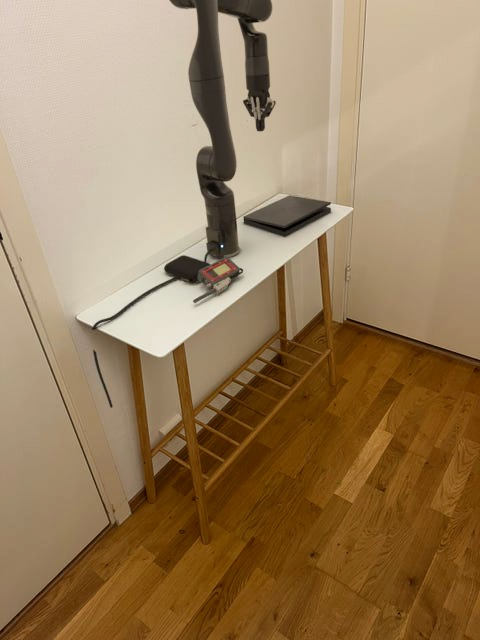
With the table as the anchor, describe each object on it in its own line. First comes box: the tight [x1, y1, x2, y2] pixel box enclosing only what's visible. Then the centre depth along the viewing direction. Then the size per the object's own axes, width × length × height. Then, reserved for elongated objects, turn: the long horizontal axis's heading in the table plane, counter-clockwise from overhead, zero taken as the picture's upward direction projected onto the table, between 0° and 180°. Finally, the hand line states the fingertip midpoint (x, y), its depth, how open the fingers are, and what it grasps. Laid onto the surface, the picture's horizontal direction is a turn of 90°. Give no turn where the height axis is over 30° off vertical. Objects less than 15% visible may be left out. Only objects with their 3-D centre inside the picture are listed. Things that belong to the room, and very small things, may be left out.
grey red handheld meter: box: [192, 257, 244, 304], centre depth 128 cm, size 9×4×20 cm
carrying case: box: [163, 255, 211, 283], centre depth 137 cm, size 11×3×15 cm
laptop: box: [243, 206, 332, 238], centre depth 166 cm, size 20×26×2 cm
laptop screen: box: [242, 194, 332, 228], centre depth 165 cm, size 20×26×1 cm
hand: (260, 130), depth 150 cm, fingers closed
